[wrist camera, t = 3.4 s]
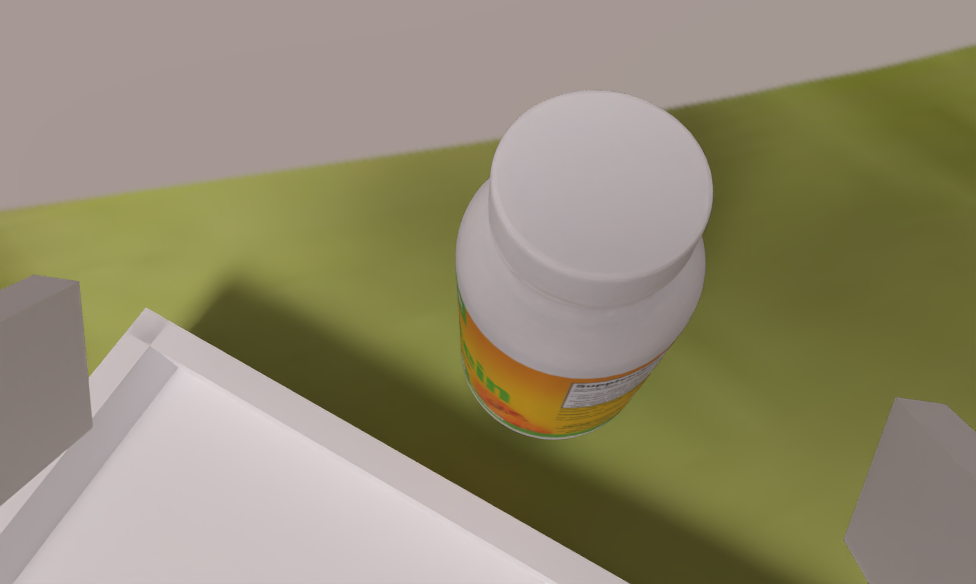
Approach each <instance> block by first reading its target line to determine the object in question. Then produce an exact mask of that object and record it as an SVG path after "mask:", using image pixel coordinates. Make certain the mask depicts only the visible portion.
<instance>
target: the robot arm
mask: <svg viewBox="0 0 976 584" xmlns="http://www.w3.org/2000/svg"><path fill="white" fill-rule="evenodd" d="M92 428H93V421H92V411H91V400H90V390H89V379H88V369H87V359H86V348H85V338H84V327H83V317H82V306H81V296H80V285H79V281H74V280H66V279H59V278H52V277H45V276H38V275H32V276H30V277H28V278H26V279H24V280H21V281H19V282H17V283H15V284H13V285H11V286H8V287H6V288H4V289H2V290H0V506H1V505H2V504H4V503H5V502H6V501H7V500H8V499H10V498H11V497H12V496H13V495H14V494H15V493H17V492H18V491H19V490H20V489H21V488H22V487H24V486H25V485H26V484H27V483H28V482H29V481H31V480H32V479H33V478H34V477H35V476H37V475H38V474H39V473H40V472H41V471H42V470H44V469H45V468H46V467H47V466H48V465H49V464H51V463H52V462H53V461H54V460H55V459H56V458H58V457H59V456H60V455H61V454H62V453H63V452H65V451H66V450H67V449H68V448H69V447H71V446H72V445H73V444H74V443H75V442H76V441H78V440H79V439H80V438H81V437H82V436H83V435H85V434H86V433H87V432H88V431H89V430H90V429H92ZM844 542H845V543H846V545H847V547H848V549H849V550H850V552H851V554H852V555H853V557H854V559H855V561H856V562H857V564H858V566H859V568H860V569H861V571H862V573H863V574H864V576H865V578H866V580H867V581H868V583H869V584H976V432H975V431H974V430H973V429H972V428H971V427H970V426H968V425H967V424H966V423H965V422H964V421H963V420H962V419H961V418H960V417H959V416H958V415H957V414H956V413H955V412H953V411H952V410H951V409H950V408H949V407H948V406H947V405H946V404H941V403H934V402H926V401H919V400H912V399H905V398H898V397H895V400H894V403H893V406H892V408H891V411H890V414H889V417H888V419H887V422H886V425H885V428H884V430H883V433H882V436H881V438H880V441H879V444H878V447H877V449H876V452H875V455H874V458H873V460H872V463H871V466H870V469H869V471H868V474H867V477H866V480H865V482H864V485H863V488H862V491H861V493H860V496H859V499H858V502H857V504H856V507H855V510H854V513H853V515H852V518H851V521H850V523H849V526H848V529H847V532H846V534H845V537H844Z"/></svg>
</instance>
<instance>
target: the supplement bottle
mask: <svg viewBox="0 0 976 584" xmlns="http://www.w3.org/2000/svg"><path fill="white" fill-rule="evenodd" d="M712 202H713V183H712V176H711V171H710V168H709V165H708V162H707V159H706V157H705V155H704V153H703V151H702V148H701V147H700V145H699V144H698V142H697V141H696V140H695V138H694V137H693V135H692V134H691V133H690V132H689V131H688V130H687V129H686V127H685V126H684V125H683V124H682V123H681V122H680V121H678V120H677V119H676V118H675V117H673V116H672V115H671V114H669V113H668V112H666V111H665V110H664V109H662V108H660V107H658V106H656V105H654V104H652V103H650V102H648V101H645V100H643V99H641V98H638V97H635V96H632V95H628V94H625V93H620V92H615V91H602V90H586V91H576V92H571V93H566V94H561V95H558V96H555V97H552V98H549V99H547V100H545V101H543V102H541V103H539V104H537V105H535V106H533V107H532V108H530V109H529V110H528V111H526V112H525V113H524V114H522V115H521V116H520V117H519V118H518V119H517V120H516V121H515V122H514V123H513V124H512V125H511V126H510V128H509V129H508V130H507V132H506V133H505V135H504V136H503V137H502V139H501V141H500V143H499V145H498V147H497V149H496V151H495V155H494V158H493V161H492V166H491V172H490V178H489V179H487V180H486V182H485V183H484V184H483V185H482V186H481V187H480V188H479V189H478V191H477V192H476V193H475V195H474V196H473V198H472V200H471V201H470V203H469V205H468V207H467V209H466V211H465V213H464V216H463V219H462V221H461V224H460V228H459V232H458V237H457V244H456V278H457V292H458V305H459V324H460V340H461V357H462V363H463V368H464V372H465V376H466V379H467V382H468V384H469V386H470V388H471V391H472V392H473V394H474V396H475V397H476V399H477V400H478V402H479V403H480V404H481V406H482V407H483V408H484V409H485V410H486V411H487V412H488V413H489V414H490V415H491V416H492V417H493V418H495V419H496V420H497V421H498V422H500V423H501V424H503V425H504V426H506V427H508V428H509V429H511V430H513V431H516V432H518V433H520V434H523V435H526V436H530V437H534V438H539V439H549V440H558V439H567V438H573V437H577V436H581V435H584V434H588V433H590V432H592V431H594V430H596V429H598V428H600V427H602V426H603V425H605V424H606V423H608V422H609V421H610V420H612V419H613V418H614V417H615V416H616V415H617V414H618V413H619V412H620V411H621V410H622V409H623V408H624V407H625V406H626V404H627V403H628V402H629V401H630V400H631V398H632V397H633V396H634V394H635V393H636V392H637V390H638V389H639V388H640V387H641V385H642V384H643V383H644V381H645V380H646V379H647V377H648V376H649V375H650V373H651V372H652V371H653V369H654V368H655V367H656V365H657V364H658V363H659V361H660V360H661V359H662V357H663V356H664V355H665V353H666V352H667V351H668V349H669V348H670V347H671V346H672V344H673V343H674V342H675V340H676V339H677V338H678V336H679V335H680V334H681V333H682V331H683V330H684V328H685V327H686V325H687V324H688V322H689V320H690V318H691V316H692V314H693V313H694V311H695V309H696V307H697V304H698V301H699V299H700V296H701V293H702V289H703V285H704V278H705V271H706V260H705V249H704V243H703V238H702V234H703V232H704V230H705V228H706V225H707V223H708V220H709V217H710V213H711V210H712Z"/></svg>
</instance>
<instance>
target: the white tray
mask: <svg viewBox="0 0 976 584" xmlns="http://www.w3.org/2000/svg"><path fill="white" fill-rule="evenodd" d="M88 379H89V390H90V400H91V411H92V421H93V428H92V429H90V430H89V431H88V432H87V433H86V434H85V435H83V436H82V437H81V438H80V439H79V440H78V441H76V442H75V443H74V444H73V445H72V446H71V447H69V448H68V449H67V450H66V451H65V452H63V453H62V454H61V455H60V456H59V457H58V458H56V459H55V460H54V461H53V462H52V463H51V464H49V465H48V466H47V467H46V468H45V469H44V470H42V471H41V472H40V473H39V474H38V475H37V476H35V477H34V478H33V479H32V480H31V481H29V482H28V483H27V484H26V485H25V486H24V487H22V488H21V489H20V490H19V491H18V492H17V493H15V494H14V495H13V496H12V497H11V498H10V499H8V500H7V501H6V502H5V503H4V504H2V505H1V506H0V584H629V583H628V582H626V581H624V580H622V579H621V578H619V577H617V576H615V575H614V574H612V573H610V572H608V571H607V570H605V569H603V568H601V567H600V566H598V565H596V564H594V563H593V562H591V561H589V560H587V559H586V558H584V557H582V556H580V555H579V554H577V553H575V552H573V551H572V550H570V549H568V548H566V547H565V546H563V545H561V544H559V543H558V542H556V541H554V540H552V539H551V538H549V537H547V536H545V535H544V534H542V533H540V532H538V531H537V530H535V529H533V528H531V527H530V526H528V525H526V524H524V523H522V522H521V521H519V520H517V519H515V518H514V517H512V516H510V515H508V514H507V513H505V512H503V511H501V510H500V509H498V508H496V507H494V506H493V505H491V504H489V503H487V502H486V501H484V500H482V499H480V498H479V497H477V496H475V495H473V494H472V493H470V492H468V491H466V490H465V489H463V488H461V487H459V486H458V485H456V484H454V483H452V482H451V481H449V480H447V479H445V478H444V477H442V476H440V475H438V474H437V473H435V472H433V471H431V470H430V469H428V468H426V467H424V466H423V465H421V464H419V463H417V462H416V461H414V460H412V459H410V458H409V457H407V456H405V455H403V454H402V453H400V452H398V451H396V450H395V449H393V448H391V447H389V446H388V445H386V444H384V443H382V442H381V441H379V440H377V439H375V438H374V437H372V436H370V435H368V434H367V433H365V432H363V431H361V430H360V429H358V428H356V427H354V426H353V425H351V424H349V423H347V422H346V421H344V420H342V419H340V418H339V417H337V416H335V415H333V414H332V413H330V412H328V411H326V410H325V409H323V408H321V407H319V406H318V405H316V404H314V403H312V402H311V401H309V400H307V399H305V398H304V397H302V396H300V395H298V394H297V393H295V392H293V391H291V390H290V389H288V388H286V387H284V386H283V385H281V384H279V383H277V382H275V381H274V380H272V379H270V378H268V377H267V376H265V375H263V374H261V373H260V372H258V371H256V370H254V369H253V368H251V367H249V366H247V365H246V364H244V363H242V362H240V361H239V360H237V359H235V358H233V357H232V356H230V355H228V354H226V353H225V352H223V351H221V350H219V349H218V348H216V347H214V346H212V345H211V344H209V343H207V342H205V341H204V340H202V339H200V338H198V337H197V336H195V335H193V334H191V333H190V332H188V331H186V330H184V329H183V328H181V327H179V326H177V325H176V324H174V323H172V322H170V321H169V320H167V319H165V318H163V317H162V316H160V315H158V314H156V313H155V312H153V311H151V310H149V309H148V308H145V309H144V311H143V312H142V313H141V314H140V316H139V317H138V318H137V319H136V320H135V322H134V323H133V324H132V325H131V327H130V328H129V329H128V330H127V332H126V333H125V334H124V335H123V336H122V338H121V339H120V340H119V341H118V343H117V344H116V345H115V346H114V347H113V349H112V350H111V351H110V352H109V354H108V355H107V356H106V357H105V359H104V360H103V361H102V362H101V363H100V365H99V366H98V367H97V368H96V370H95V371H94V372H93V373H92V374H91V376H90V377H89V378H88Z"/></svg>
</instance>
